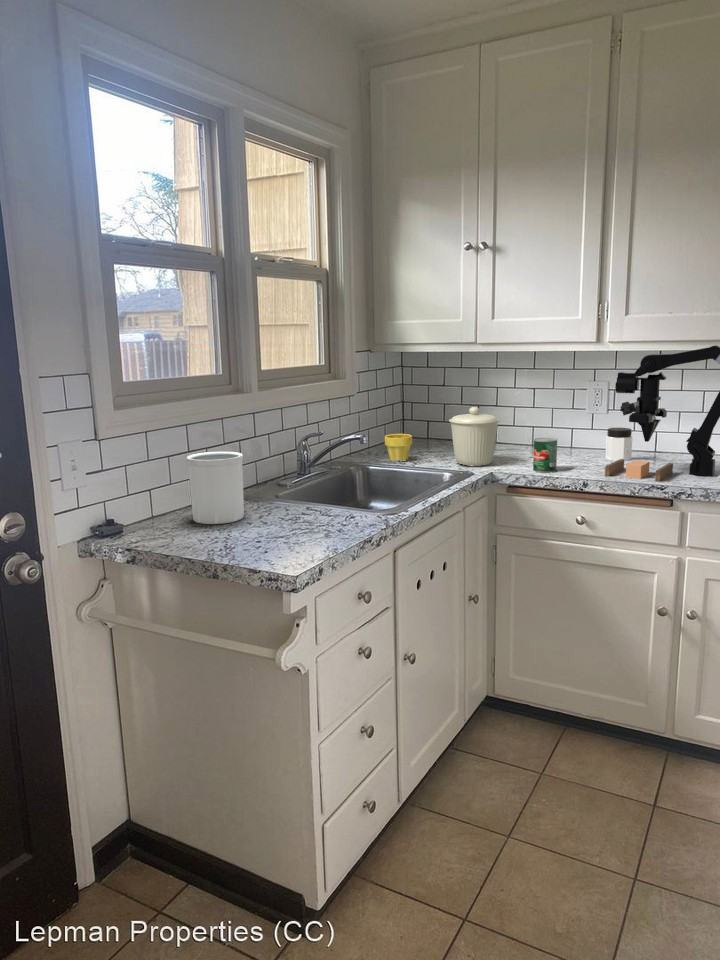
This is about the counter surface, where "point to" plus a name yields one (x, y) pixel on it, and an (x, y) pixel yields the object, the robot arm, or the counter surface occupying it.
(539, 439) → the canned tomato
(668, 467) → the brown wooden tray
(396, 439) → the plant pot
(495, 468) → the counter surface
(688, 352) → the robot arm
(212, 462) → the utensil holder
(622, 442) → the jar
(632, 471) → the peach rectangular block
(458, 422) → the canister
